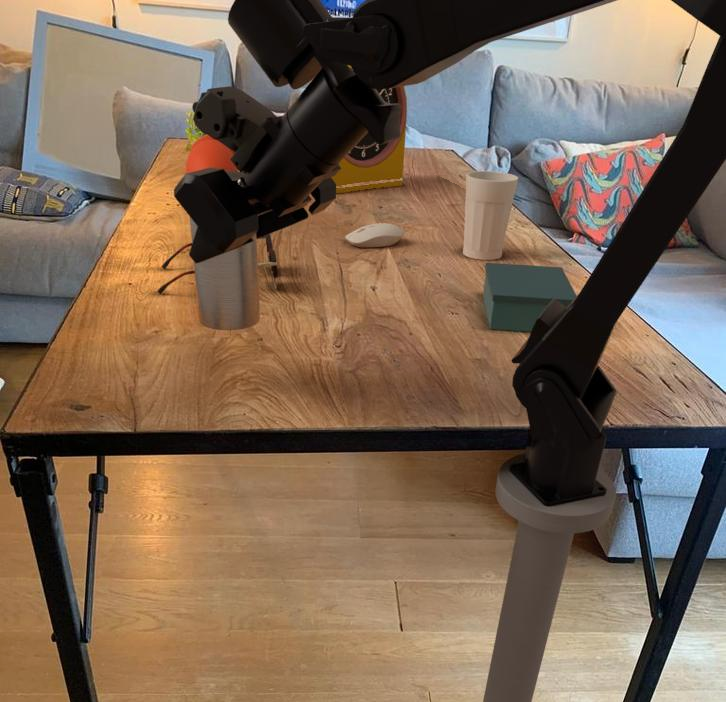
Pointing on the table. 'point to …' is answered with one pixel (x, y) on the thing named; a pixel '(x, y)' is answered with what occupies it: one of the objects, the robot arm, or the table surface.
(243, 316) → the flask
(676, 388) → the table surface
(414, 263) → the table surface
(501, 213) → the cup
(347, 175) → the alarm clock
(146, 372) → the table surface
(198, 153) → the potted plant
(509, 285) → the lidded box
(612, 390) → the robot arm
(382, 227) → the computer mouse
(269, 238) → the sunglasses
